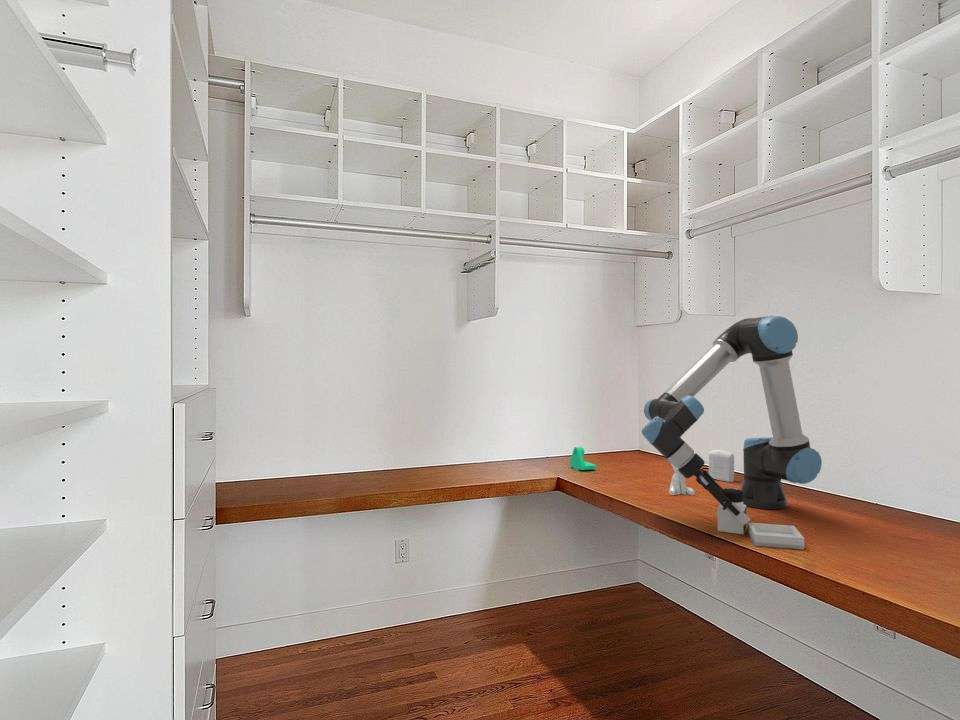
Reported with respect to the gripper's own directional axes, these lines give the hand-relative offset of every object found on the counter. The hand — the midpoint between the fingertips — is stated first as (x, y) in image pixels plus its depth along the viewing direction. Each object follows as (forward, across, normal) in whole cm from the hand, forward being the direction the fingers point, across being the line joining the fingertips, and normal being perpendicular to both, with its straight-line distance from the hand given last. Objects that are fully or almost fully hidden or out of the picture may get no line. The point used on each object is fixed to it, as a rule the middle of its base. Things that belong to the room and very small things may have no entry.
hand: (744, 518), depth 173 cm
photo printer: (+4, -76, -2) cm, 76 cm away
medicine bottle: (0, 0, -5) cm, 5 cm away
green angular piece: (-37, -85, -43) cm, 102 cm away
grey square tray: (+7, +8, +2) cm, 11 cm away
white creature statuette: (-9, -46, -14) cm, 49 cm away
